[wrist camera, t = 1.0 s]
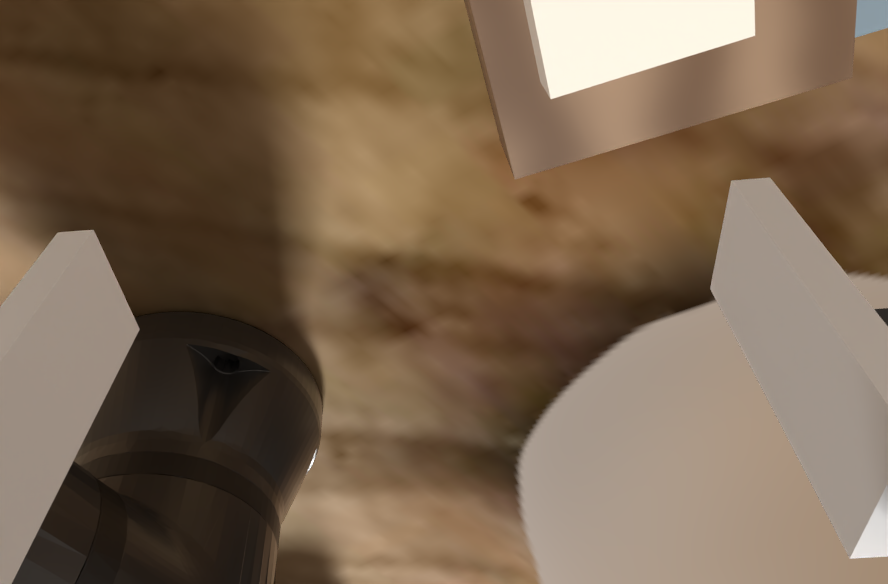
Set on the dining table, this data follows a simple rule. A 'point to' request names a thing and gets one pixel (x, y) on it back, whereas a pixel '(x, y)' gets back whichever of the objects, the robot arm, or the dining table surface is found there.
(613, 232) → the dining table surface
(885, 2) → the mat
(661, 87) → the riser board
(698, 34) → the ceramic tile
